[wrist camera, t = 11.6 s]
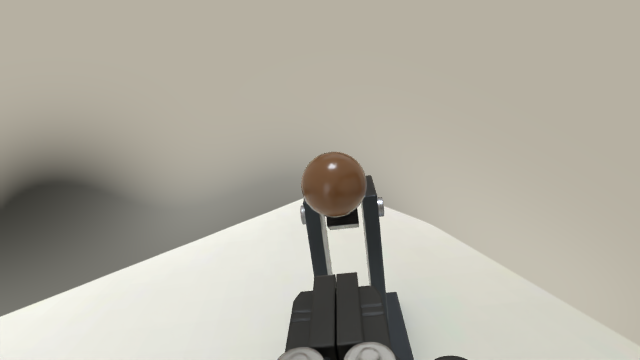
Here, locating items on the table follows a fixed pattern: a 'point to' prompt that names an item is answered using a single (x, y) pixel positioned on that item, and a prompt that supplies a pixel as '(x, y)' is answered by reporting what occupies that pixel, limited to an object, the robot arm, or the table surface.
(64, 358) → the table surface
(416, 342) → the table surface
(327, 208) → the lever
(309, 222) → the bracket
